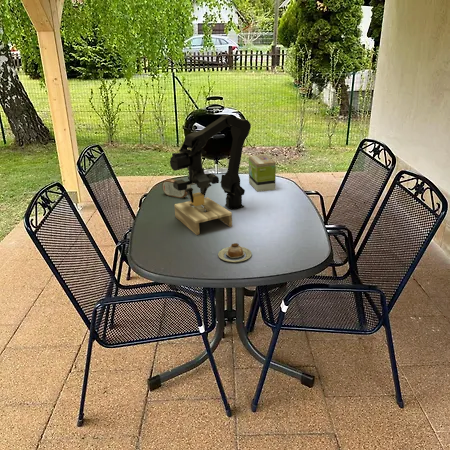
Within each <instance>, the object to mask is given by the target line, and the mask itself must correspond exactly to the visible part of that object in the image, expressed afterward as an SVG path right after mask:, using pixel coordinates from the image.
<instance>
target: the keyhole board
mask: <svg viewBox="0 0 450 450" xmlns="http://www.w3.org/2000/svg"><path fill="white" fill-rule="evenodd" d="M204 203H205V204H203V205H202V207H203V208H204V209H205V212H202V211H201V210H199V209H198V208H193V207H194V205H193V204H191V200H189V201H184V202H178V203H175V204H174V214H175V218H176V219H177V220H178V221H179V222H181V224H183V225H184V226H185V227H187V228H188V229H189V230H190V231H192V233H193V234H195V235H196V236H198V235H200V223H205V222H208V221H212V220H217V219H218V220H219V221H221V222H222V223H224V224H225V225H226V226H228V227H229V228H231V227H233V215H232V214H233V213H232V211H230V210H228V209H227V208H225V207H224V206H222V205H221V204H218V202H215V201H214V200H213V199H211V198H210V197H204Z"/></svg>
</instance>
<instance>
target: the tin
mask: <svg viewBox="0 0 450 450" xmlns="http://www.w3.org/2000/svg"><path fill="white" fill-rule="evenodd" d="M177 180H178V179H172V178H166V179H165V180H164V181H163V182H162V183H161V189H162V191H163V193H164V194H165V195H166V196H169V197H174V198H177V199H184V198H185V197H187V196H188V194H187V192H186V191H185V190H181V191H178V190H177V189H175V188H174V187H173V183H174V181H177Z"/></svg>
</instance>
